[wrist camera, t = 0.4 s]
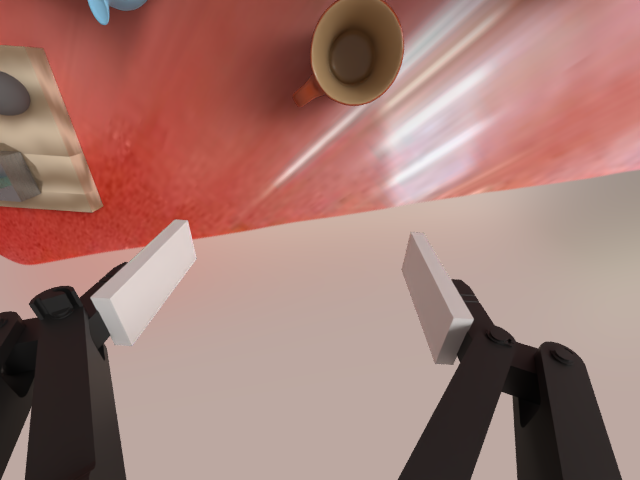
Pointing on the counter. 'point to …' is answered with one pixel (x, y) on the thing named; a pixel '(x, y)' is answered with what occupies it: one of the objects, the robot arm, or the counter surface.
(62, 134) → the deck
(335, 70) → the mug
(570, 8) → the counter surface
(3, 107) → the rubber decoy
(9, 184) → the cover
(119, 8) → the teapot
